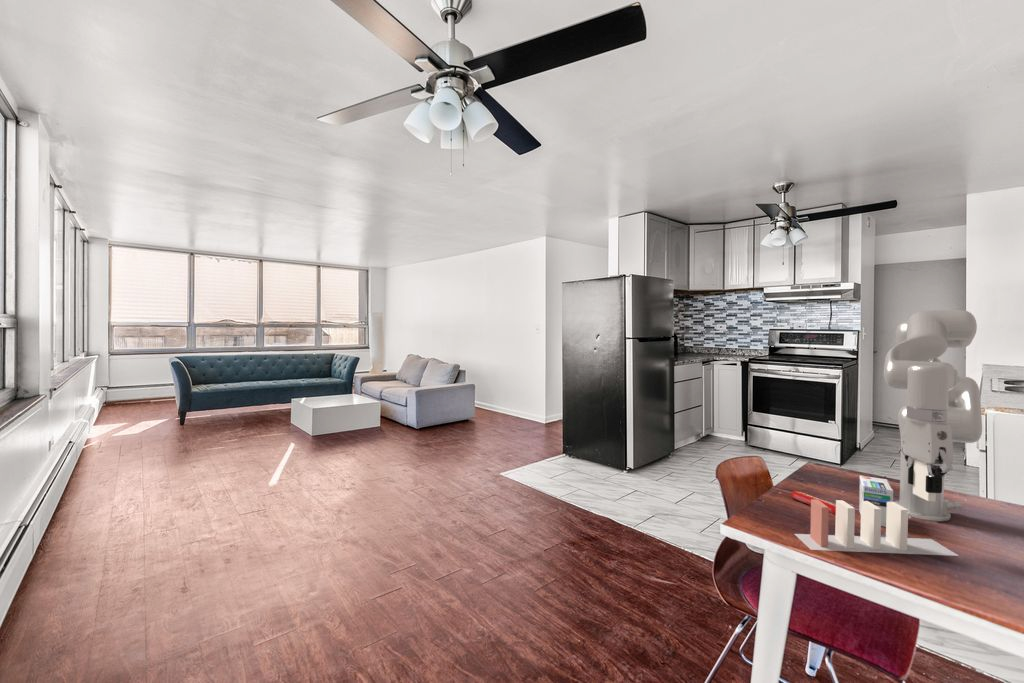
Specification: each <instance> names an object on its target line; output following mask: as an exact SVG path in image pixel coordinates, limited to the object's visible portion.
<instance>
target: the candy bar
mask: <svg viewBox="0 0 1024 683" xmlns="http://www.w3.org/2000/svg"><path fill="white" fill-rule="evenodd" d="M789 496H791V498H793V499H794V500H796V501H799V502H801V503H803V504H807V505H809V506H811V499H813V500H819V501H820V502H822V503H823V504H825V505H826V506H827V507H829V514H833V515H836V503H833V502H829V501H828V500H824V499H822V498H819V497H816V496H814V495H810V494H807V493H806V492H802V491H797V490H794V491H792V492H791V493H790V494H789Z"/></svg>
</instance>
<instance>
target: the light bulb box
mask: <svg viewBox="0 0 1024 683" xmlns="http://www.w3.org/2000/svg"><path fill="white" fill-rule="evenodd" d="M861 501H869V502H870V503H872V504H874V505H875V506H877V507H879V508H880V509H881V527H884V528H886V512H887V502H894V489H893V488H892V487H891V484H890V483H889V479H885V478H880V477H879V478H878V477H872V476H865V475H859V506H858V509H859V511H858V512H859V513H860V515H861Z"/></svg>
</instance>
